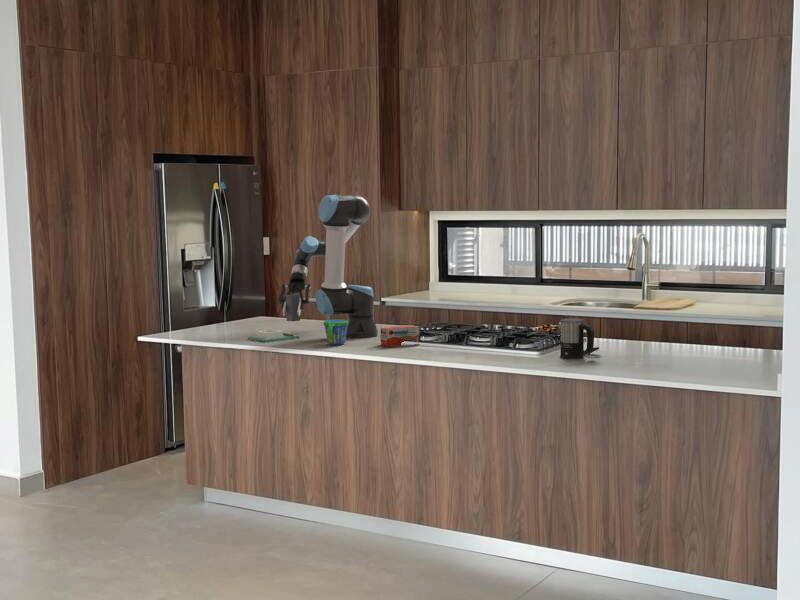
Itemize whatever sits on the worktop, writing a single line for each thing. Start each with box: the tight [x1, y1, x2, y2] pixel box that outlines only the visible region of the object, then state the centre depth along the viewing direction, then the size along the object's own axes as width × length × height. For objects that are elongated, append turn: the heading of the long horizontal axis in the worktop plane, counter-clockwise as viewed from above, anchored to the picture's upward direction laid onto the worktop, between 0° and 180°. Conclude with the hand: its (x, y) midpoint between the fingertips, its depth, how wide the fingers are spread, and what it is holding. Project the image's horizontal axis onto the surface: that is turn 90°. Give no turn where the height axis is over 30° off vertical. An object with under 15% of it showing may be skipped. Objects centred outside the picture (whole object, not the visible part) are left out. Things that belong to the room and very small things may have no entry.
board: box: [247, 329, 300, 343], centre depth 434 cm, size 14×18×4 cm
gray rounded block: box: [285, 293, 301, 322], centre depth 445 cm, size 5×4×12 cm
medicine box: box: [379, 324, 420, 348], centre depth 412 cm, size 15×8×8 cm, turn 112°
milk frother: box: [559, 318, 600, 360], centre depth 376 cm, size 14×16×15 cm
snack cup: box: [323, 319, 348, 346], centre depth 416 cm, size 16×10×10 cm
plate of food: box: [534, 321, 587, 333], centre depth 443 cm, size 28×28×6 cm
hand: (291, 314), depth 442 cm, fingers closed on gray rounded block, 6 cm apart
